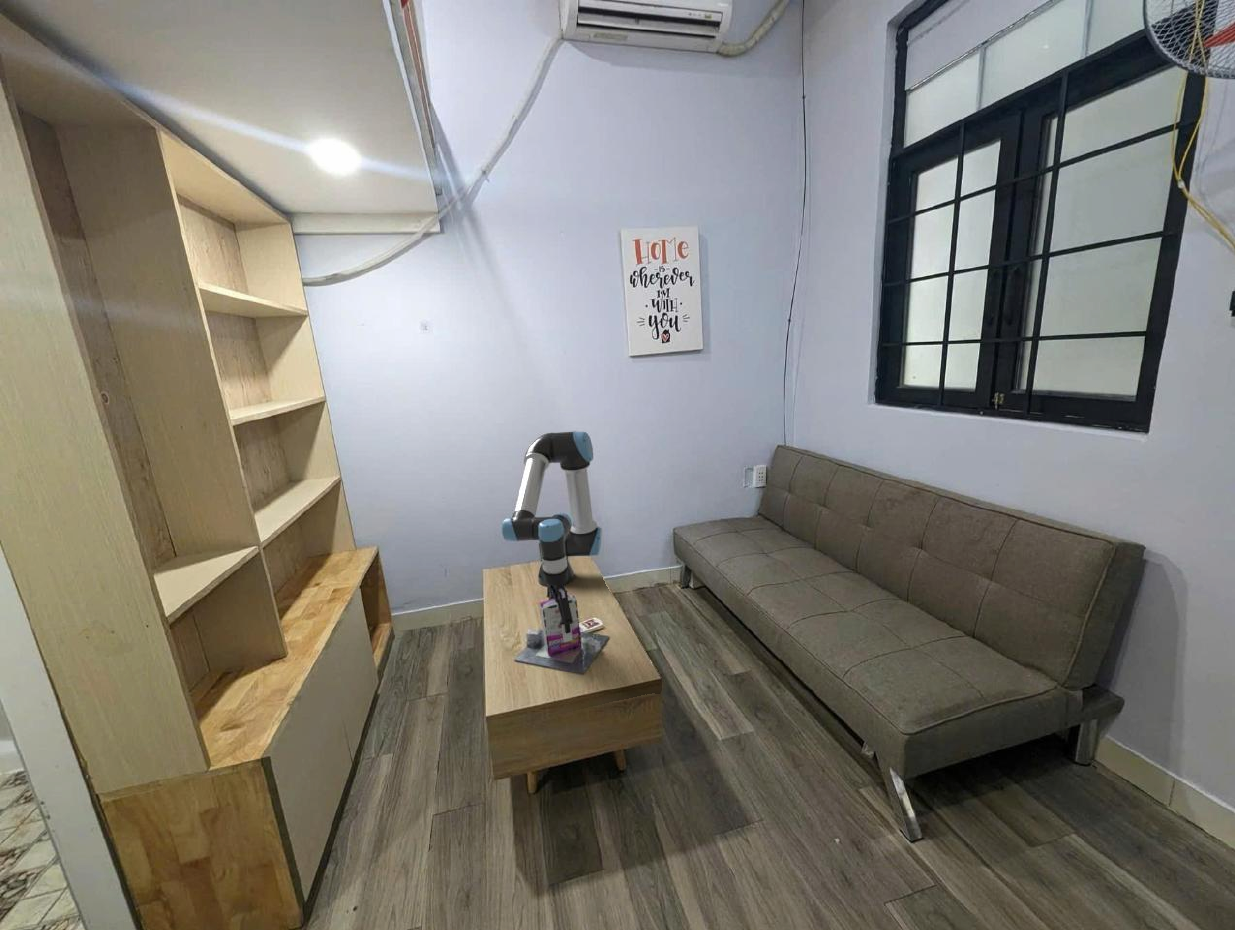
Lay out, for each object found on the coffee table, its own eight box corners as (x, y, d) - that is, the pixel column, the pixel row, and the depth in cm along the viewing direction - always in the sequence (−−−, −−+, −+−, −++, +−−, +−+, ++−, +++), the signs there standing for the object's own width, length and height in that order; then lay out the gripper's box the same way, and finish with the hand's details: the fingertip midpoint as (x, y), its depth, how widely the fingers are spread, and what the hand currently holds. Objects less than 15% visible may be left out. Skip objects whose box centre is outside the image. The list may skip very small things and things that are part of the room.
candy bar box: (576, 638, 160) (572, 592, 156) (581, 645, 155) (577, 599, 152) (544, 647, 156) (538, 601, 152) (548, 656, 151) (542, 608, 148)
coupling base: (511, 660, 151) (509, 646, 150) (543, 626, 169) (542, 614, 168) (586, 675, 142) (585, 661, 141) (612, 637, 160) (611, 625, 159)
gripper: (533, 557, 159) (540, 615, 164) (554, 588, 137) (561, 654, 142) (555, 552, 162) (561, 609, 167) (579, 581, 140) (585, 646, 145)
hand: (561, 630), depth 154 cm, fingers open, 13 cm apart
